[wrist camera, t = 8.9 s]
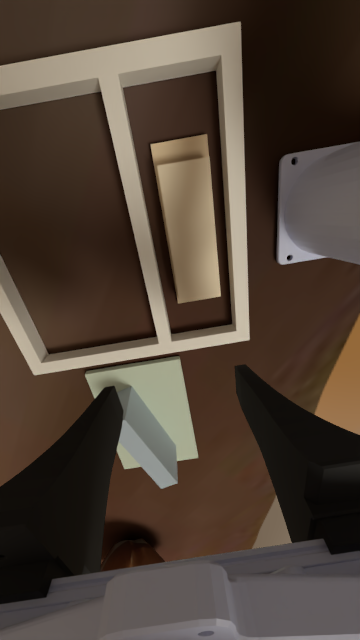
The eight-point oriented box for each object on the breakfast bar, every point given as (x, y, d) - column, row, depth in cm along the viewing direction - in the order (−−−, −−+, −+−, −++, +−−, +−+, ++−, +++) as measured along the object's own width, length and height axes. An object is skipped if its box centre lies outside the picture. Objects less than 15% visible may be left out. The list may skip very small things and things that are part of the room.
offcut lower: (204, 139, 16) (207, 134, 15) (218, 292, 21) (220, 296, 20) (151, 149, 16) (150, 144, 15) (177, 299, 21) (178, 303, 20)
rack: (233, 40, 14) (240, 21, 12) (244, 332, 23) (249, 339, 21) (-94, 101, 14) (-122, 88, 13) (42, 366, 23) (34, 375, 22)
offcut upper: (206, 161, 16) (209, 156, 15) (217, 292, 20) (220, 296, 19) (157, 169, 16) (156, 165, 15) (178, 298, 20) (179, 302, 19)
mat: (179, 355, 23) (179, 359, 23) (197, 453, 30) (198, 457, 29) (86, 371, 23) (84, 374, 23) (125, 464, 30) (124, 469, 30)
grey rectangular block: (131, 385, 24) (124, 419, 20) (176, 445, 28) (177, 482, 24) (115, 392, 24) (105, 427, 20) (162, 450, 28) (161, 488, 24)
